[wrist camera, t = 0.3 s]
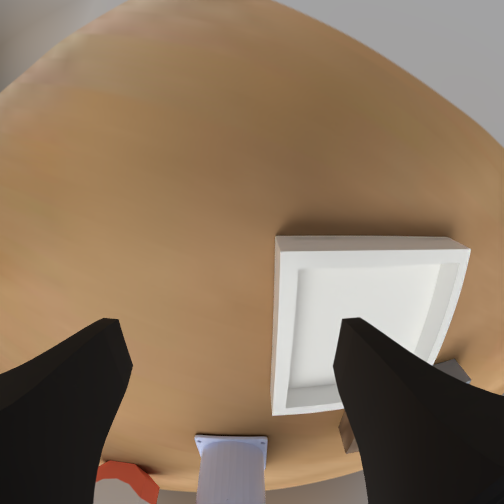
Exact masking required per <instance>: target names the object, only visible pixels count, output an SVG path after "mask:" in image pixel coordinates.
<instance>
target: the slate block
mask: <svg viewBox="0 0 504 504" xmlns="http://www.w3.org/2000/svg"><path fill="white" fill-rule="evenodd" d="M433 366H434V367H435V368H437V369H439V370H441V371H443V372H445V373H447V374H449V375H451V376H453V377H455V378H457V379H459V380H461V381H463V382H465V383H468V384H469V383H470V381H471V379H470V378H469V376H468V375H467V374H466V373H465V371H464V370H463V369H462V367H461V366H460V365H459V364H458V362H457V361H456V360H455V359H452V360H449V361H446V362H442V363H439V364H435V365H433Z"/></svg>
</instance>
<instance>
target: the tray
mask: <svg viewBox="0 0 504 504" xmlns="http://www.w3.org/2000/svg"><path fill="white" fill-rule="evenodd" d="M470 252H471V249H470V248H468V247H466V246H464V245H462V244H460V243H459V242H457V241H455V240H453V239H451V238H449V237H428V236H275V276H274V311H273V338H272V362H271V383H270V395H271V407H272V416H276V415H292V414H304V413H314V412H323V411H330V410H338V409H344V406H343V404H342V401H341V398H340V395H339V392H338V388H337V384H336V380H335V375H334V370H333V363H334V358H335V353H336V348H337V343H338V338H339V333H340V327H341V322H342V319H345V318H356V317H360V318H362V319H364V320H365V321H367V322H368V323H370V324H371V325H373V326H374V327H375V328H377V329H378V330H380V331H381V332H382V333H384V334H385V335H387V336H388V337H389V338H391V339H392V340H394V341H395V342H397V343H398V344H399V345H401V346H402V347H404V348H405V349H407V350H408V351H410V352H411V353H413V354H414V355H416V356H417V357H419V358H421V359H422V360H424V361H426V362H427V363H429V364H430V365H432V366H433V364H434V362H435V359H436V357H437V355H438V353H439V350H440V348H441V345H442V343H443V341H444V338H445V335H446V333H447V330H448V328H449V325H450V322H451V319H452V316H453V314H454V311H455V308H456V305H457V301H458V298H459V295H460V291H461V288H462V284H463V281H464V277H465V273H466V269H467V265H468V261H469V256H470Z"/></svg>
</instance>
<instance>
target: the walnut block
mask: <svg viewBox="0 0 504 504" xmlns="http://www.w3.org/2000/svg"><path fill="white" fill-rule="evenodd" d="M338 428H339V431H340V435H341V438H342V442H343V445H344V449H345V453H346V454H348V453H353V452H358V451H359V449H358V445H357V442H356V440H355V437H354V434H353V431H352V428H351V426H350V423H349V420H348V417H347V415H346V412H344V414H343V417H342V419H341V422H340V425H339V427H338Z"/></svg>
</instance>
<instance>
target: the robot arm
mask: <svg viewBox="0 0 504 504" xmlns="http://www.w3.org/2000/svg"><path fill="white" fill-rule="evenodd" d="M132 367H133V364H132V361H131V358H130V355H129V352H128V349H127V346H126V343H125V340H124V337H123V333H122V330H121V327H120V323H119V320H118V319H109V318H102V319H100V320H98V321H96V322H94V323H92V324H91V325H89V326H87V327H85V328H84V329H82V330H80V331H79V332H77V333H76V334H74V335H72V336H71V337H69V338H67V339H66V340H64V341H63V342H61V343H59V344H58V345H56V346H54V347H53V348H51V349H49V350H48V351H46V352H44V353H42V354H41V355H39V356H37V357H35V358H34V359H32V360H30V361H28V362H26V363H24V364H22V365H20V366H18V367H16V368H14V369H11V370H9V371H7V372H4V373H2V374H0V504H93V502H94V490H95V483H96V477H97V471H98V466H99V462H100V457H101V453H102V449H103V446H104V443H105V440H106V437H107V435H108V432H109V430H110V427H111V425H112V422H113V420H114V418H115V415H116V413H117V411H118V408H119V406H120V404H121V401H122V399H123V397H124V394H125V392H126V389H127V386H128V382H129V379H130V375H131V371H132ZM333 370H334V375H335V380H336V384H337V388H338V392H339V395H340V398H341V401H342V404H343V406H344V409H345V412H346V415H347V417H348V420H349V423H350V426H351V428H352V431H353V434H354V437H355V440H356V442H357V445H358V449H359V452H360V456H361V461H362V466H363V471H364V476H365V482H366V489H367V496H368V504H504V396H501V395H498V394H495V393H491V392H489V391H486V390H483V389H480V388H478V387H475V386H472V385H470V384H468V383H465V382H463V381H461V380H459V379H457V378H455V377H453V376H451V375H449V374H447V373H445V372H443V371H441V370H439V369H437V368H435V367H434V366H432V365H430V364H429V363H427V362H426V361H424V360H422V359H421V358H419V357H417V356H416V355H414V354H413V353H411V352H410V351H408V350H407V349H405V348H404V347H402V346H401V345H399V344H398V343H397V342H395V341H394V340H392V339H391V338H389V337H388V336H387V335H385V334H384V333H382V332H381V331H380V330H378V329H377V328H375V327H374V326H373V325H371V324H370V323H368V322H367V321H365V320H364V319H362V318H360V317H356V318H345V319H342V322H341V327H340V333H339V338H338V343H337V348H336V353H335V358H334V363H333ZM194 439H195V442H196V445H197V447H198V450H199V453H200V456H201V463H200V472H199V480H198V488H197V497H196V504H265V482H264V470H265V469H266V456H267V442H268V439H267V437H265V436H256V437H233V436H209V435H195V438H194Z"/></svg>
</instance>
